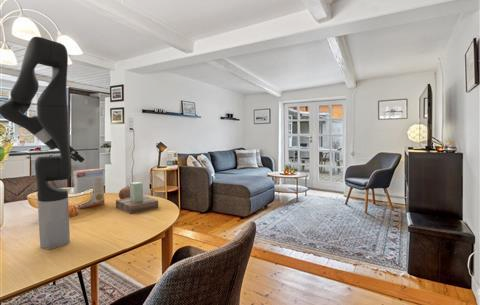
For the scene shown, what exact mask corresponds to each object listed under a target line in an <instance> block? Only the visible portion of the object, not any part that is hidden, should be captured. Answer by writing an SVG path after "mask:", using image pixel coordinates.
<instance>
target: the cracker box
mask: <svg viewBox="0 0 480 305" xmlns="http://www.w3.org/2000/svg"><path fill="white" fill-rule="evenodd" d="M72 171H73V186H74V187H73V189H74V195H75V194H77V193H81V192H84V191H86V190H89V189H93V190H94V193H93V195H92V197H91V199H90V200H89V201H88V202H86V203H84V204H81V205H78V206H77V208H76V209H79V210H80V209H85V208H90V207H94V206H100V205H104V204H105V203H106V202H105V187H104V186H105V184H104V169H103V168H91V169H80V170H72Z"/></svg>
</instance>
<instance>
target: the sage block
mask: <svg viewBox="0 0 480 305" xmlns="http://www.w3.org/2000/svg"><path fill="white" fill-rule="evenodd" d="M143 183H144V182H141V181H135V182H134V181H133V182H130V183H129V187H130V201H133V202H138V201H143V196H144V184H143Z"/></svg>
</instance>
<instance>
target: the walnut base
mask: <svg viewBox="0 0 480 305" xmlns="http://www.w3.org/2000/svg"><path fill="white" fill-rule="evenodd" d="M115 208H117V209H119V210H121V211H124V212H126V213H127V214H130V215H131V213H132V214H136V213H140V212H144V211H148V210H153V209H157V208H159V200H158V199H155V198H153V197H152V198H151V197H149V196H147V195H143V201H138V202H133V201H130V198H125V199H120V198H119V199H116V200H115Z"/></svg>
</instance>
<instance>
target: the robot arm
mask: <svg viewBox="0 0 480 305" xmlns="http://www.w3.org/2000/svg"><path fill="white" fill-rule="evenodd" d="M68 62H69V56H68V49H67V48H66V46H65V45H64V44H63V43H61V42H57V41H54V40H51V39H48V38H45V37H40V36H33V37H31V39H30V40H29V41H28V43H27V46H26V48H25V53H24V55H23V58H22V62H21V66H20V70H19V74H18V76H17V79H16V81H15V83H14V85H13V86H12V88H11V90H10V94H9V95H10V98H8V99H7V101H4V102H3V103H2V104H0V116H1V117H2V118H3V119H5V120H6V121H9V122H11V123H13V124H15V125H17V126H18V127H19V126H20V127H22V128H23V129H25V130H26V131H28V132H29V133H30V134H32V135H33V136H35V138H37V140H39V141H40V143H42V144H44V145H45V146H47V147H48V148H49V149H50V150H55V149H57V150H59V153H60V154H59V155H45V156H43V155H42V156H37V157H36V159H35V162H34V169H35V170H34V172H35V179H36V188H37V191H36V192H37V210H38V212H37V213H38V231H39V234H38V236H39V247H40V248H42V249H47V250H52V249H55V248H60V247H64V246H67V245H69V243H70V241H71V236H70V211H69V210H70V208H69V191H68V190H67V189H66V188H62V187H58V186H54V185H52V184H49V182H54V181H55V182H56V181H65V180H69V179H71V176H72V160H73V161H74V162H77V161H78V162H79V163H83V162H84V161H85V158H84V157H83V156H82V155H80V154H79V151H77V150H75V148H73V146H71V145H70V142H69V140H70V139H69V107H68V106H69V105H68V91H67V90H68V89H67V88H68V86H67V84H68V83H67V81H68V80H67V79H68V67H69V66H68V64H69V63H68ZM38 65H43V66H46V67H49V68H50V67H51V69H52V73H51V79H50V82H49V83H48V85H47V86H46V88H45V89H44V90H43V91H42V93H41V94H40V95H39V97H38V99H37V101H36V102H37V103H36V108H37V109H36V110H37V115H32V116H31V115H30V116H28V115H25V113H26V112H28V110H29V109H30V107H31V105H32V101H33V99H34V97H36V94H37V93H38V90H39V87H40V85H39V80H38V77H37V74H36V67H37V66H38ZM71 159H72V160H71Z"/></svg>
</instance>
